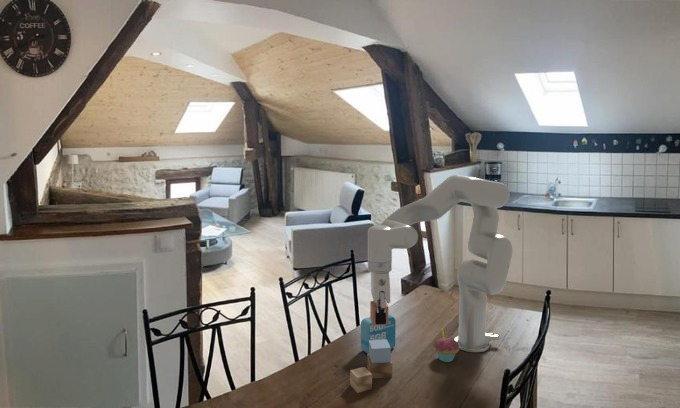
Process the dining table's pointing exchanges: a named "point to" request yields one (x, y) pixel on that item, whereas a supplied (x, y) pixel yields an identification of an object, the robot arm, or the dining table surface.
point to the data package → (377, 332)
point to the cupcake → (446, 348)
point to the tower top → (379, 351)
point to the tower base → (379, 369)
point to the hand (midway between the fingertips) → (379, 319)
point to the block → (360, 379)
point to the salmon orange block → (373, 313)
